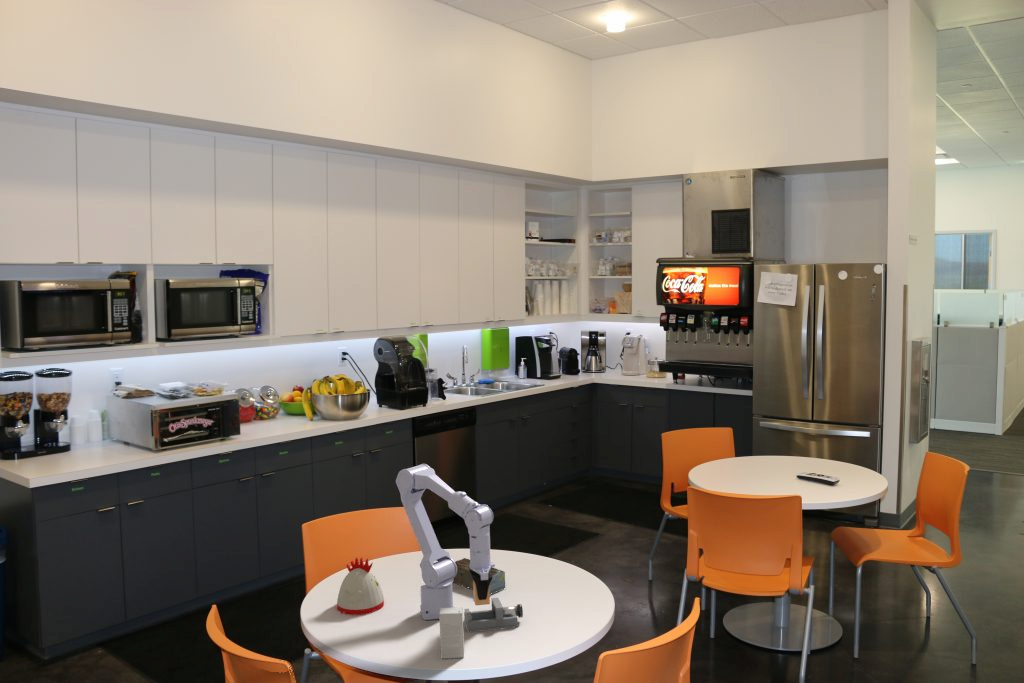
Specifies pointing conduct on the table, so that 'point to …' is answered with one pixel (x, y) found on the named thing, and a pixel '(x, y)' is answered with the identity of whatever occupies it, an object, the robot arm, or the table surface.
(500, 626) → the housing
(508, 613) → the shaft
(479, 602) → the block
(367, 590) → the chicken head dome
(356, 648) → the table surface
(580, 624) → the table surface
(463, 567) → the beverage carton
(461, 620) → the skincare box
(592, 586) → the table surface
